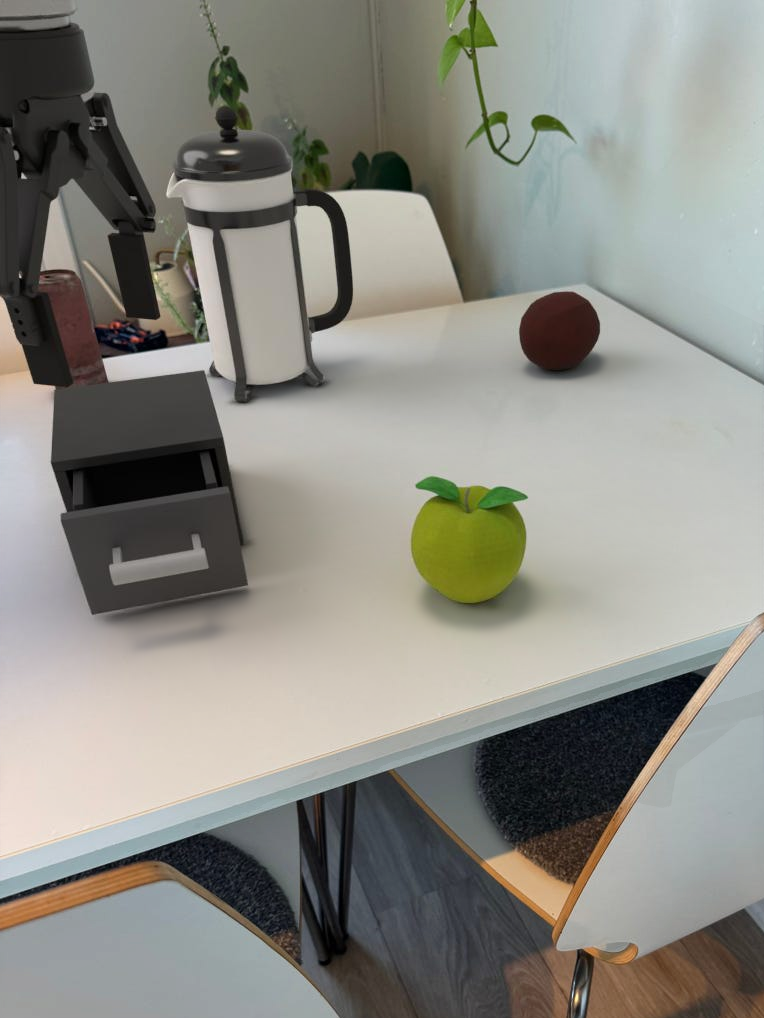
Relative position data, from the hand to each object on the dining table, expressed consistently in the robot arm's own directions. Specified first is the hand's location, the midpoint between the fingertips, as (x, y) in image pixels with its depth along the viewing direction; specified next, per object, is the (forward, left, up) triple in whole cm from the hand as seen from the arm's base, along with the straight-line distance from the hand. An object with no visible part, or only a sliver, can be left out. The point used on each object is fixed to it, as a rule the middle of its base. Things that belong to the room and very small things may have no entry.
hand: (102, 348), depth 72 cm
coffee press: (+17, +38, -19) cm, 46 cm away
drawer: (+1, -4, -18) cm, 19 cm away
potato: (+52, +29, -19) cm, 62 cm away
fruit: (+25, -15, -19) cm, 35 cm away
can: (-6, +41, -19) cm, 46 cm away
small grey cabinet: (+1, +7, -19) cm, 20 cm away
